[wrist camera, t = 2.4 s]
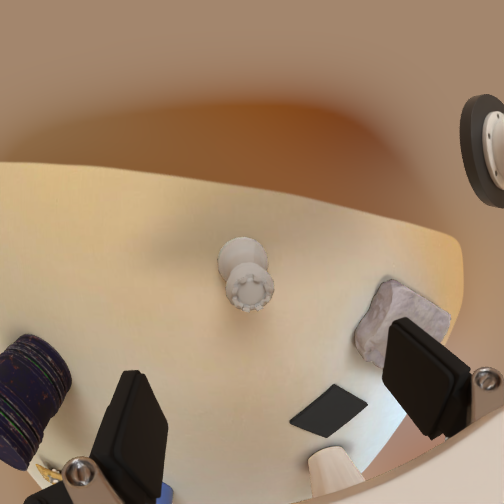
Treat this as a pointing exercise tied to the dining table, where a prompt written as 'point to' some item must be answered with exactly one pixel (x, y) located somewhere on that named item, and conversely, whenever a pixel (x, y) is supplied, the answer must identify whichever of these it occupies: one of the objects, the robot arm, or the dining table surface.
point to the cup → (332, 471)
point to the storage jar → (29, 396)
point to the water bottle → (165, 495)
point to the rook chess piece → (246, 273)
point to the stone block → (392, 308)
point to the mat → (329, 412)
